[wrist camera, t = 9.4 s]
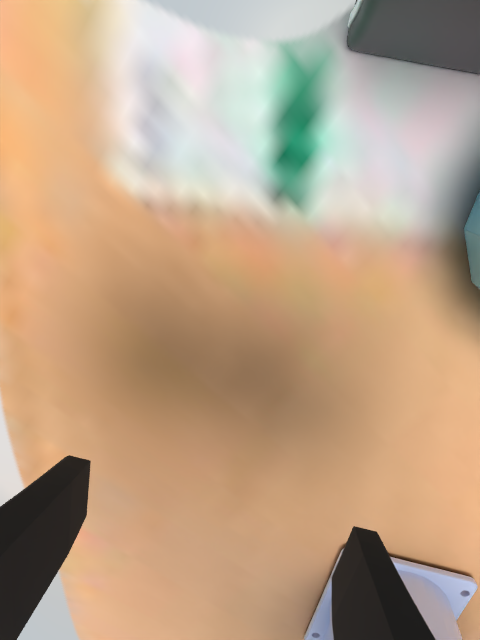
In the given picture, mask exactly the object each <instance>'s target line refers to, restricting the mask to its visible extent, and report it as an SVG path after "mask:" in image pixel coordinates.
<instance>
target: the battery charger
mask: <svg viewBox="0 0 480 640" xmlns="http://www.w3.org/2000/svg"><path fill="white" fill-rule="evenodd" d="M348 28H349V32H348V38H347V43H348V47H349V48H350V49H351V50H354V51H358V52H364V53H369V54H374V55H379V56H385V57H390V58H395V59H401V60H406V61H412V62H417V63H423V64H428V65H433V66H439V67H445V68H450V69H456V70H461V71H467V72H473V73H478V74H480V0H356V3H355V6H354V8H353V10H352V12H351V13H350V17H349V22H348Z"/></svg>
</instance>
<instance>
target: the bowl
mask: <svg viewBox="0 0 480 640" xmlns="http://www.w3.org/2000/svg"><path fill="white" fill-rule="evenodd" d="M464 233H465V240H466V247H467V254H468V261H469V267H470V274H471V281H472V283H473V284H474V285H475V286H476V287H477V288H478V289H479V290H480V191H479V193H478V196H477V198H476V201H475V203H474V205H473V208H472V210H471V213H470V215H469V217H468V220H467V222H466V225H465V227H464Z"/></svg>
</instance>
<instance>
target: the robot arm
mask: <svg viewBox="0 0 480 640" xmlns="http://www.w3.org/2000/svg"><path fill="white" fill-rule="evenodd" d="M89 475H90V460H86V459H82V458H78V457H73V456H67V457H65V458H64V459H62V460H61V461H60V462H59V463H57V464H56V465H55V466H53V467H52V468H51V469H50V470H48V471H47V472H46V473H45V474H43V475H42V476H41V477H39V478H38V479H37V480H36V481H34V482H33V483H32V484H30V485H29V486H28V487H26V488H25V489H24V490H22V491H21V492H20V493H18V494H17V495H16V496H14V497H13V498H12V499H10V500H9V501H7V502H6V503H5V504H3V505H2V506H1V507H0V640H17V638H18V636H19V635H20V633H21V631H22V630H23V628H24V627H25V624H26V623H27V622H28V620H29V618H30V617H31V615H32V613H33V611H34V610H35V608H36V607H37V605H38V603H39V602H40V600H41V599H42V597H43V595H44V594H45V592H46V590H47V589H48V587H49V585H50V584H51V582H52V580H53V579H54V577H55V575H56V574H57V572H58V570H59V569H60V567H61V565H62V564H63V562H64V560H65V559H66V557H67V555H68V554H69V551H70V549H71V547H72V545H73V543H74V541H75V539H76V537H77V535H78V533H79V531H80V528H81V526H82V524H83V522H84V520H85V518H86V515H87V502H88V488H89ZM476 590H477V584H476V582H475V580H474V579H473V578H472V577H469V576H465V575H461V574H457V573H453V572H449V571H445V570H441V569H437V568H433V567H429V566H425V565H421V564H417V563H413V562H409V561H405V560H401V559H397V558H393V557H390V556H389V554H388V552H387V550H386V548H385V546H384V544H383V542H382V541H381V539H380V537H379V535H378V533H377V532H375V531H371V530H367V529H363V528H359V527H355V526H354V527H353V529H352V531H351V534H350V536H349V538H348V541H347V543H346V545H345V548H343V549H342V551H341V553H340V555H339V557H338V560H337V562H336V564H335V567H334V569H333V571H332V574H331V576H330V578H329V581H328V583H327V585H326V588H325V590H324V592H323V594H322V597H321V599H320V601H319V604H318V606H317V608H316V611H315V613H314V615H313V618H312V620H311V622H310V625H309V627H308V629H307V632H306V634H305V636H304V640H463V639H462V636H461V633H460V631H459V628H458V625H457V622H456V620H457V619H458V617H459V616H460V614H461V613H462V611H463V610H464V608H465V607H466V605H467V604H468V602H469V600H470V599H471V597H472V596H473V594H474V593H475V591H476Z"/></svg>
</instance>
